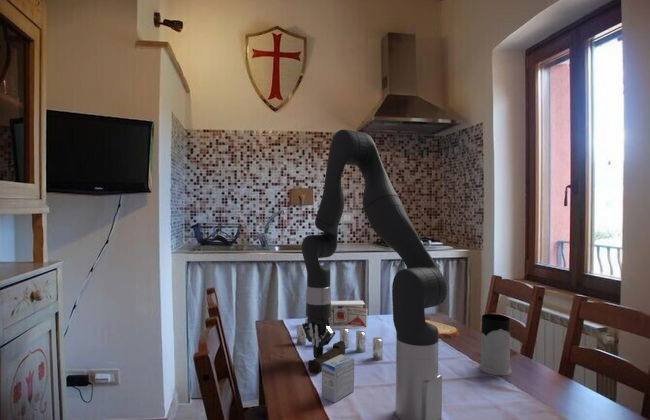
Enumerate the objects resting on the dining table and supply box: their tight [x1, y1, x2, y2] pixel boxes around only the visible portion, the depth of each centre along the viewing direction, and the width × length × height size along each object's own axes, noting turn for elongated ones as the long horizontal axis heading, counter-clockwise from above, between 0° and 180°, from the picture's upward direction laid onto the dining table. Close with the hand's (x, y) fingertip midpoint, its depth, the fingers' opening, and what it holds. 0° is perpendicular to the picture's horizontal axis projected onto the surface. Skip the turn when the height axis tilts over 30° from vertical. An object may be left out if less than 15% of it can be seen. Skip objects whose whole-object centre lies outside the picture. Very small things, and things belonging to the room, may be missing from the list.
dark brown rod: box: [307, 340, 346, 375], centre depth 123 cm, size 19×4×5 cm, turn 147°
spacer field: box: [296, 318, 384, 361], centre depth 135 cm, size 33×13×6 cm, turn 43°
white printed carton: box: [329, 300, 368, 330], centre depth 160 cm, size 20×6×9 cm, turn 94°
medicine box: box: [321, 354, 355, 403], centre depth 102 cm, size 8×4×9 cm, turn 141°
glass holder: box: [478, 313, 512, 376], centre depth 121 cm, size 9×14×15 cm, turn 178°
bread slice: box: [425, 319, 460, 339], centre depth 154 cm, size 18×18×4 cm
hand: (317, 357), depth 124 cm, fingers closed
